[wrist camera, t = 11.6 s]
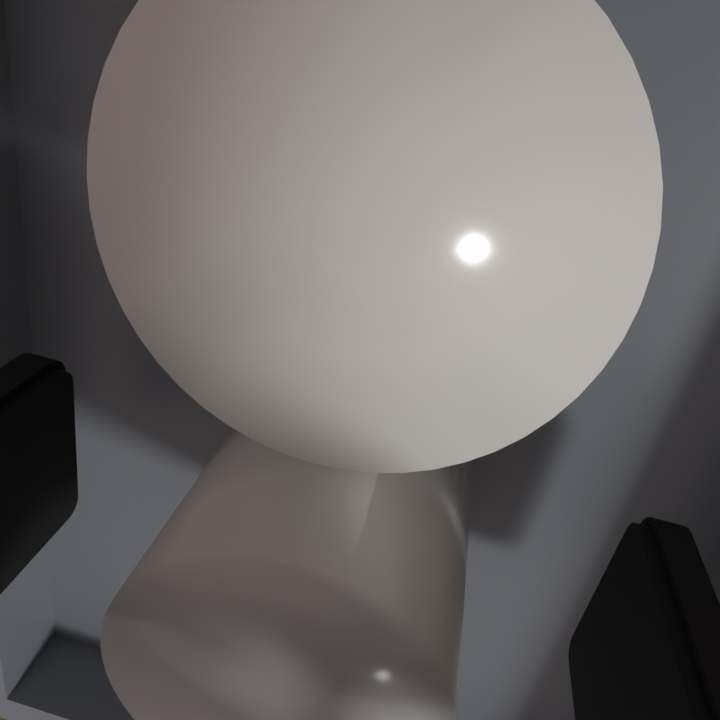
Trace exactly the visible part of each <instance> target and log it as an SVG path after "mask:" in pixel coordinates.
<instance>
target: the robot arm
mask: <svg viewBox="0 0 720 720" xmlns="http://www.w3.org/2000/svg"><path fill="white" fill-rule="evenodd" d="M77 501H78V477H77V454H76V431H75V408H74V385H73V377H72V375H71V374H70V373H69V372H66V369H65V366H64V364H63V363H62V362H60V361H58V360H54V359H51V358H47V357H43V356H39V355H36V354H32V353H23V354H21V355H19V356H17V357H16V358H14V359H13V360H11V361H10V362H8V363H7V364H5V365H4V366H2V367H1V368H0V594H1V593H2V592H3V591H4V590H5V589H6V588H7V587H8V586H9V584H10V583H11V582H12V581H13V580H14V579H15V578H16V577H17V576H18V575H19V573H20V572H21V571H22V570H23V569H24V568H25V567H26V566H27V565H28V563H29V562H30V561H31V560H32V559H33V558H34V557H35V556H36V555H37V553H38V552H39V551H40V550H41V549H42V548H43V547H44V546H45V545H46V543H47V542H48V541H49V540H50V539H51V538H52V537H53V536H54V535H55V533H56V532H57V531H58V530H59V529H60V528H61V527H62V526H63V525H64V523H65V522H66V521H67V520H68V519H69V518H70V516H71V515H72V514H73V512H74V510H75V508H76V505H77ZM568 659H569V670H570V679H571V687H572V696H573V705H574V714H575V720H720V604H719V601H718V599H717V596H716V593H715V591H714V588H713V586H712V583H711V581H710V578H709V576H708V573H707V571H706V568H705V566H704V563H703V561H702V558H701V555H700V553H699V550H698V548H697V545H696V543H695V540H694V538H693V535H692V533H691V531H690V530H689V528H687V527H686V526H683V525H679V524H675V523H672V522H668V521H664V520H660V519H656V518H653V517H646V518H645V519H644V520H642V522H641V523H640V524H638V523H634V522H633V523H631V524H630V525H629V526H628V527H627V529H626V531H625V533H624V535H623V537H622V539H621V541H620V543H619V544H618V546H617V548H616V550H615V552H614V554H613V556H612V558H611V560H610V562H609V564H608V566H607V568H606V570H605V572H604V574H603V576H602V578H601V580H600V582H599V584H598V586H597V588H596V590H595V592H594V594H593V596H592V598H591V600H590V602H589V604H588V606H587V608H586V610H585V612H584V614H583V616H582V618H581V620H580V622H579V624H578V626H577V628H576V630H575V632H574V634H573V636H572V638H571V642H570V646H569V655H568Z"/></svg>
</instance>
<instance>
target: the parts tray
mask: <svg viewBox="0 0 720 720" xmlns="http://www.w3.org/2000/svg"><path fill="white" fill-rule="evenodd" d="M595 1H596V3H597V4H598V5H599V6H600V8H601V9H602V10H603V11H604V13H605V14H606V15H607V16H608V18H609V19H610V21H611V23H612V24H613V26H614V28H615V30H616V31H617V33H618V35H619V36H620V38H621V40H622V42H623V43H624V45H625V47H626V48H627V50H628V52H629V54H630V55H631V57H632V59H633V62H634V64H635V67H636V69H637V72H638V74H639V77H640V79H641V82H642V84H643V87H644V89H645V92H646V94H647V97H648V99H649V103H650V107H651V111H652V115H653V120H654V124H655V128H656V132H657V137H658V141H659V146H660V158H661V169H662V181H663V199H662V217H661V231H660V236H659V241H658V246H657V251H656V256H655V261H654V266H653V271H652V273H651V276H650V279H649V282H648V285H647V288H646V291H645V294H644V297H643V299H642V302H641V305H640V308H639V309H638V311H637V313H636V315H635V317H634V319H633V321H632V323H631V325H630V327H629V329H628V331H627V333H626V335H625V337H624V339H623V341H622V342H621V344H620V345H619V347H618V348H617V349H616V351H615V352H614V354H613V355H612V357H611V358H610V360H609V361H608V363H607V364H606V365H605V367H604V368H603V370H602V371H601V372H600V373H599V374H598V375H597V377H596V378H595V379H594V380H593V381H592V382H591V383H590V384H589V385H588V387H587V388H586V389H585V390H584V391H583V392H582V393H581V394H580V395H579V396H578V397H577V398H576V399H575V400H574V401H573V402H571V403H570V404H569V405H568V406H567V407H566V408H564V409H563V410H562V411H561V412H560V413H559V414H557V415H556V416H555V417H554V418H553V419H551V420H550V421H548V422H547V423H545V424H544V425H542V426H541V427H539V428H538V429H536V430H535V431H533V432H532V433H530V434H529V435H527V436H526V437H524V438H522V439H520V440H518V441H516V442H514V443H512V444H510V445H508V446H506V447H504V448H502V449H500V450H498V451H496V452H493V453H490V454H487V455H485V456H482V457H479V458H476V459H474V470H473V484H472V498H471V512H470V526H469V541H468V555H467V569H466V583H465V597H464V612H463V626H462V640H461V654H460V668H459V682H458V697H457V711H456V720H575V714H574V705H573V696H572V687H571V679H570V670H569V659H568V655H569V646H570V642H571V638H572V636H573V634H574V632H575V630H576V628H577V626H578V624H579V622H580V620H581V618H582V616H583V614H584V612H585V610H586V608H587V606H588V604H589V602H590V600H591V598H592V596H593V594H594V592H595V590H596V588H597V586H598V584H599V582H600V580H601V578H602V576H603V574H604V572H605V570H606V568H607V566H608V564H609V562H610V560H611V558H612V556H613V554H614V552H615V550H616V548H617V546H618V544H619V543H620V541H621V539H622V537H623V535H624V533H625V531H626V529H627V527H628V526H629V525H630V524H631V523H633V522H634V523H638V524H640V523H641V522H642V520H644V519H645V518H646V517H653V518H656V519H660V520H664V521H668V522H672V523H675V524H679V525H683V526H686V527H687V528H689V530H690V531H691V533H692V535H693V538H694V540H695V543H696V545H697V548H698V550H699V553H700V555H701V558H702V561H703V563H704V566H705V568H706V571H707V573H708V576H709V578H710V581H711V583H712V586H713V588H714V591H715V593H716V596H717V599H718V601H719V604H720V0H595ZM137 2H138V0H0V368H1V367H2V366H4V365H5V364H7V363H8V362H10V361H11V360H13V359H14V358H16V357H17V356H19V355H21V354H23V353H32V354H36V355H39V356H43V357H47V358H51V359H54V360H58V361H60V362H62V363H63V364H64V366H65V369H66V372H69V373H70V374H71V375H72V377H73V385H74V408H75V431H76V454H77V477H78V501H77V505H76V508H75V510H74V512H73V514H72V515H71V516H70V518H69V519H68V520H67V521H66V522H65V523H64V525H63V526H62V527H61V528H60V529H59V530H58V531H57V532H56V533H55V535H54V536H53V537H52V538H51V539H50V540H49V541H48V542H47V543H46V545H45V546H44V547H43V548H42V549H41V550H40V551H39V552H38V553H37V555H36V556H35V557H34V558H33V559H32V560H31V561H30V562H29V563H28V565H27V566H26V567H25V568H24V569H23V570H22V571H21V572H20V573H19V575H18V576H17V577H16V578H15V579H14V580H13V581H12V582H11V583H10V584H9V586H8V587H7V588H6V589H5V590H4V591H3V592H2V593H1V594H0V717H2V718H5V719H8V720H134V719H133V717H132V716H131V715H130V713H129V712H128V711H127V710H126V708H125V707H124V706H123V704H122V703H121V701H120V699H119V698H118V696H117V694H116V693H115V691H114V690H113V687H112V685H111V683H110V681H109V679H108V676H107V674H106V671H105V667H104V664H103V660H102V654H101V645H100V639H101V627H102V624H103V620H104V616H105V613H106V611H107V609H108V607H109V605H110V604H111V602H112V600H113V598H114V597H115V596H116V594H117V593H118V591H119V590H120V588H121V587H122V586H123V584H124V583H125V581H126V580H127V578H128V577H129V576H130V574H131V573H132V571H133V570H134V568H135V567H136V566H137V564H138V563H139V561H140V560H141V558H142V557H143V556H144V554H145V553H146V551H147V550H148V548H149V547H150V546H151V544H152V543H153V541H154V540H155V538H156V537H157V536H158V534H159V533H160V531H161V530H162V528H163V527H164V526H165V524H166V523H167V521H168V520H169V518H170V517H171V516H172V514H173V513H174V511H175V510H176V508H177V507H178V506H179V504H180V503H181V501H182V500H183V498H184V497H185V496H186V494H187V493H188V491H189V490H190V488H191V487H192V486H193V484H194V483H195V481H196V480H197V478H198V477H199V476H200V474H201V473H202V471H203V470H204V468H205V467H206V466H207V464H208V463H209V461H210V460H211V458H212V457H213V456H214V454H215V453H216V451H217V450H218V448H219V447H220V446H221V444H222V443H223V441H224V440H225V438H226V437H227V436H228V434H229V433H230V431H231V430H232V427H230V426H228V425H227V424H225V423H224V422H223V421H221V420H220V419H218V418H217V417H216V416H214V415H213V414H211V413H210V412H209V411H207V410H206V409H205V408H203V407H202V406H201V405H200V404H199V403H197V402H196V401H195V400H194V399H193V398H192V397H191V396H190V395H189V394H187V393H186V392H185V391H184V390H183V389H182V388H181V387H180V386H179V385H178V384H177V383H176V382H175V381H174V380H173V379H172V378H171V377H170V376H169V374H168V373H167V372H166V371H165V370H164V369H163V368H162V367H161V366H160V365H159V364H158V362H157V361H156V360H155V358H154V357H153V356H152V354H151V353H150V352H149V350H148V349H147V348H146V346H145V345H144V344H143V342H142V341H141V339H140V338H139V337H138V335H137V333H136V332H135V330H134V328H133V327H132V325H131V323H130V322H129V320H128V318H127V317H126V315H125V313H124V311H123V310H122V308H121V306H120V304H119V301H118V299H117V297H116V295H115V293H114V290H113V288H112V286H111V284H110V282H109V279H108V277H107V274H106V271H105V268H104V265H103V262H102V259H101V256H100V253H99V250H98V247H97V243H96V238H95V233H94V229H93V224H92V219H91V214H90V208H89V197H88V185H87V145H88V133H89V127H90V121H91V114H92V108H93V102H94V98H95V95H96V91H97V88H98V85H99V81H100V78H101V74H102V71H103V68H104V64H105V62H106V60H107V58H108V56H109V53H110V51H111V49H112V47H113V44H114V42H115V40H116V38H117V35H118V33H119V31H120V29H121V27H122V26H123V24H124V23H125V21H126V19H127V18H128V16H129V15H130V13H131V11H132V10H133V8H134V7H135V5H136V4H137Z"/></svg>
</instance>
